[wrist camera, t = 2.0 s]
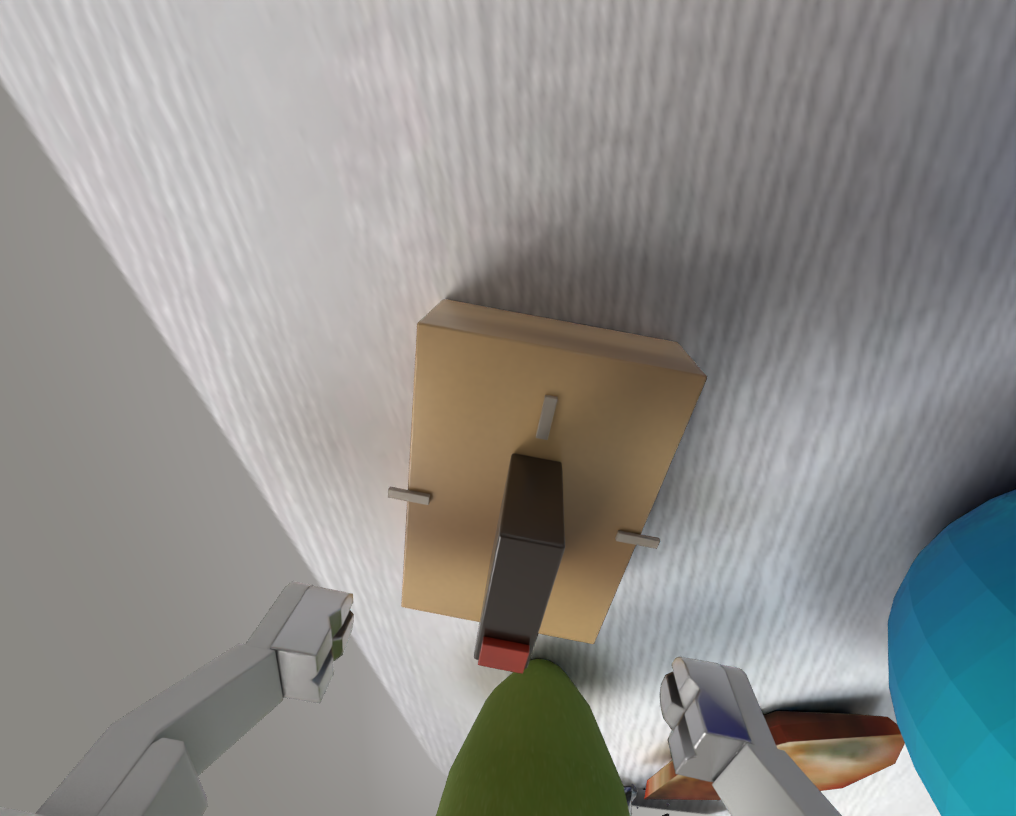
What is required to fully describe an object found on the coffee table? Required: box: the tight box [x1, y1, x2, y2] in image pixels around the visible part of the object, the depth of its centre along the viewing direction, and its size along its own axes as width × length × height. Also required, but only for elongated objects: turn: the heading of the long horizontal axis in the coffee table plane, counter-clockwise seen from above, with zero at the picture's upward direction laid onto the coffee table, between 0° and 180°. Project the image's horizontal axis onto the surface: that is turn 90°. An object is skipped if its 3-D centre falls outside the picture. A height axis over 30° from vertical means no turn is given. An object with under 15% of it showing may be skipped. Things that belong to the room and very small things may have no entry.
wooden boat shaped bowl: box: [644, 711, 905, 800], centre depth 23 cm, size 14×6×2 cm, turn 122°
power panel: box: [388, 299, 707, 644], centre depth 15 cm, size 12×9×3 cm
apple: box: [436, 659, 630, 816], centre depth 18 cm, size 9×8×12 cm
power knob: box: [474, 453, 565, 674], centre depth 12 cm, size 5×2×4 cm, turn 171°
